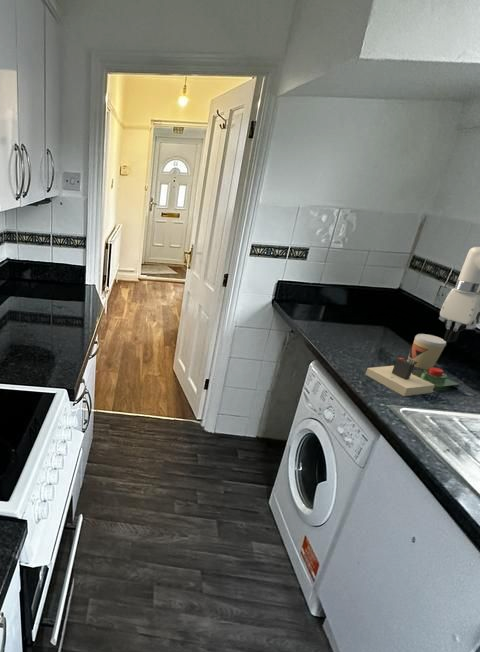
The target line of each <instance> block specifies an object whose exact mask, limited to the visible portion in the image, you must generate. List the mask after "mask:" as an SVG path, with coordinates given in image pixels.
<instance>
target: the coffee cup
mask: <svg viewBox="0 0 480 652" xmlns="http://www.w3.org/2000/svg"><path fill="white" fill-rule="evenodd" d="M446 346H447V341H444V338H441V337H439V336H436V335H433V334H429V333H428V334H425V333H418V334H416V335H414V340H413V343H412V344H411V348H410V350H409V354H408V357H407V360H406V361H408V362H411V363H413V364H415V365H414V368H413V370H414V371H420V370H421V369H422V370H424V369H430V368H431V367H434V368H435V365H436V363H437V362H438V360H439V358H440V356H441V355H442V352H443V351H444V349H445V348H446ZM416 368H418V369H416ZM419 369H420V370H419Z"/></svg>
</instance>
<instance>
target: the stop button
mask: <svg viewBox="0 0 480 652" xmlns="http://www.w3.org/2000/svg"><path fill="white" fill-rule="evenodd" d="M429 373H430V374H433V375H436V376H442V374H443V373H444V369H441V368H439V367H435V366H434V367H431V368H430V370H429Z"/></svg>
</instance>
